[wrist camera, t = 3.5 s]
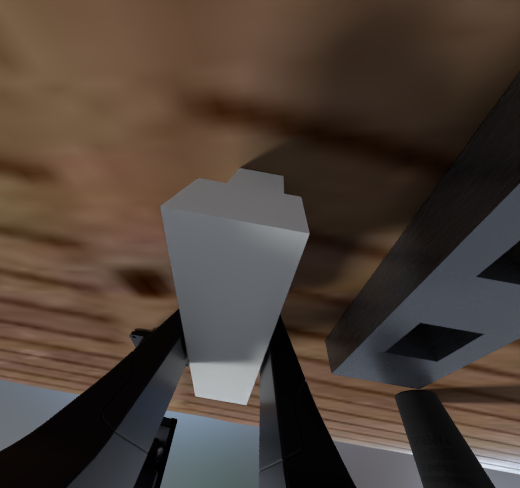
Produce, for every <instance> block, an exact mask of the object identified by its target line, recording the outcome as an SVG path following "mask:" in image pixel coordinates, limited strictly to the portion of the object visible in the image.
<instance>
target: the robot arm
mask: <svg viewBox="0 0 520 488" xmlns="http://www.w3.org/2000/svg"><path fill="white" fill-rule="evenodd" d="M130 338H131V340H132V341H133V343H134V345H135V347H136V348H135V349H134V351H132V352H131V353H130V354H129V355H127V356H126V357H125V358H124V359H123V360H122V361H121V362H120V363H119V364H117V365H116V366H115V367H114V368H113V369H112V370H111V371H109V372H108V373H107V374H106V375H105V376H103V377H102V378H101V379H100V380H98V381H97V382H96V383H95V384H93V385H92V386H91V387H90V388H88V389H87V390H86V391H85V392H83V393H82V394H81V395H80V396H78V397H77V398H76V399H74V400H73V401H72V402H71V403H69V404H68V405H67V406H66V407H64V408H63V409H62V410H60V411H59V412H58V413H57V414H55V415H54V416H53V417H52V418H50V419H49V420H48V421H46V422H45V423H44V424H43V425H41V426H40V427H38V428H37V429H36V430H34V431H33V432H31V433H30V434H29V435H27V436H25V437H24V438H22V439H21V440H19V441H17V442H16V443H14V444H12V445H11V446H9V447H7V448H5V449H3V450H2V451H0V488H160V485H161V481H162V478H163V474H164V470H165V466H166V462H167V459H168V455H169V451H170V447H171V443H172V439H173V435H174V431H175V428H176V424H177V419H175V418H171V419H170V418H166V417H164V414H165V412H166V410H167V407H168V405H169V403H170V400H171V398H172V396H173V393H174V391H175V389H176V386H177V384H178V382H179V379H180V377H181V375H182V372H183V370H184V368H185V366H189V359H188V353H187V348H186V343H185V337H184V332H183V326H182V321H181V316H180V310H179V309H178V310H177V311H176V312H175V313H174V314H173V315H171V316H170V317H169V318H168V319H167V320H166V321H165V322H164V323H163V324H162V325H160V326H159V327H158V328H157V329H156V330H155V331H154V332H153V333H152V334H148V333H142V332H136V331H132V333H131V334H130ZM259 442H260V443H259V471H260V472H259V488H356V486H355V484H354V482H353V480H352V479H351V477H350V475H349V473H348V471H347V469H346V467H345V465H344V463H343V461H342V459H341V457H340V455H339V452H338V450H337V449H336V446H335V445H334V442H333V440H332V438H331V436H330V434H329V432H328V430H327V428H326V426H325V424H324V422H323V420H322V417H321V415H320V413H319V411H318V409H317V407H316V404H315V402H314V399H313V397H312V395H311V392H310V390H309V387H308V385H307V382H306V381H305V377H304V375H303V372H302V369H301V367H300V364H299V362H298V359H297V357H296V354H295V351H294V349H293V346H292V344H291V341H290V339H289V336H288V333H287V331H286V328H285V326H284V323H283V321H282V318H281V316H280V315H279V318H278V321H277V323H276V326H275V329H274V332H273V334H272V337H271V340H270V342H269V345H268V348H267V350H266V353H265V356H264V359H263V361H262V364H261V367H260V437H259Z"/></svg>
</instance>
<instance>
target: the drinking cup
mask: <svg viewBox="0 0 520 488" xmlns="http://www.w3.org/2000/svg"><path fill="white" fill-rule="evenodd" d="M395 400H396V403H397V406H398V409H399V412H400V415H401V418H402V421H403V425H404V428H405V431H406V434H407V437H408V440H409V443H410V447H411V450H412V453H413V456H414V459H415V462H416V465H417V468H418V471H419V475H420V478H421V481H422V484H423V487H424V488H495V486H494V485H493V483H492V482H491V480H490V478H489V477H488V475H487V474H486V472H485V471H484V469H483V467H482V466H481V464H480V463H479V461H478V460H477V458H476V457H475V455H474V453H473V452H472V450H471V449H470V447H469V446H468V444H467V442H466V441H465V439H464V438H463V436H462V435H461V433H460V432H459V430H458V428H457V427H456V425H455V424H454V422H453V421H452V419H451V417H450V416H449V414H448V413H447V411H446V410H445V408H444V406H443V405H442V403H441V402H440V400H439V399H438V397H437V396H436V394H434V393H432V392H429V391H420V390H414V391H406V392H402V393H399V394H397V395H396V396H395Z"/></svg>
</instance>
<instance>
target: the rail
mask: <svg viewBox="0 0 520 488" xmlns="http://www.w3.org/2000/svg"><path fill="white" fill-rule="evenodd" d="M519 338H520V73H519V74H518V76H517V77H516V78H515V80H514V81H513V82H512V84H511V85H510V87H509V88H508V89H507V91H506V92H505V93H504V95H503V96H502V98H501V99H500V100H499V102H498V103H497V105H496V106H495V107H494V109H493V110H492V111H491V113H490V114H489V116H488V117H487V118H486V120H485V121H484V122H483V124H482V125H481V127H480V128H479V129H478V131H477V132H476V133H475V135H474V136H473V138H472V139H471V140H470V142H469V143H468V144H467V146H466V147H465V149H464V150H463V151H462V153H461V154H460V155H459V157H458V158H457V160H456V161H455V162H454V164H453V165H452V166H451V168H450V169H449V171H448V172H447V173H446V175H445V176H444V177H443V179H442V180H441V182H440V183H439V184H438V186H437V187H436V188H435V190H434V191H433V193H432V194H431V195H430V197H429V198H428V199H427V201H426V202H425V204H424V205H423V206H422V208H421V209H420V210H419V212H418V213H417V215H416V216H415V217H414V219H413V220H412V221H411V223H410V224H409V226H408V227H407V228H406V230H405V231H404V232H403V234H402V235H401V237H400V238H399V239H398V241H397V242H396V243H395V245H394V246H393V248H392V249H391V250H390V252H389V253H388V254H387V256H386V257H385V259H384V260H383V261H382V263H381V264H380V265H379V267H378V268H377V270H376V271H375V272H374V274H373V275H372V276H371V278H370V279H369V281H368V282H367V283H366V285H365V286H364V287H363V289H362V290H361V292H360V293H359V294H358V296H357V297H356V298H355V300H354V301H353V303H352V304H351V305H350V307H349V308H348V309H347V311H346V312H345V314H344V315H343V316H342V318H341V319H340V320H339V322H338V323H337V325H336V326H335V327H334V329H333V330H332V331H331V333H330V334H329V336H328V337H327V338H326V340H325V342H326V348H327V353H328V358H329V363H330V368H331V373H332V374H335V375H340V376H346V377H352V378H358V379H363V380H369V381H375V382H381V383H386V384H392V385H398V386H404V387H410V388H415V389H420V388H422V387H424V386H426V385H428V384H430V383H432V382H434V381H436V380H438V379H440V378H442V377H444V376H446V375H448V374H450V373H452V372H454V371H456V370H458V369H460V368H462V367H464V366H466V365H468V364H470V363H472V362H474V361H476V360H478V359H480V358H482V357H484V356H485V355H487V354H489V353H491V352H493V351H495V350H497V349H499V348H501V347H503V346H505V345H507V344H509V343H511V342H513V341H515V340H517V339H519Z"/></svg>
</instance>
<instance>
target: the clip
mask: <svg viewBox="0 0 520 488" xmlns="http://www.w3.org/2000/svg"><path fill="white" fill-rule="evenodd" d="M160 208H161V214H162V219H163V224H164V230H165V235H166V240H167V246H168V251H169V257H170V262H171V267H172V273H173V278H174V283H175V289H176V294H177V300H178V305H179V310H180V316H181V321H182V326H183V332H184V337H185V343H186V348H187V353H188V359H189V364H190V369H191V375H192V380H193V386H194V391H195V396H197V397H203V398H209V399H214V400H220V401H226V402H231V403H237V404H243V405H247V402H248V399H249V396H250V394H251V391H252V388H253V386H254V383H255V380H256V378H257V375H258V372H259V369H260V367H261V364H262V361H263V359H264V356H265V353H266V350H267V348H268V345H269V342H270V340H271V337H272V334H273V332H274V329H275V326H276V323H277V321H278V318H279V315H280V313H281V310H282V307H283V304H284V302H285V299H286V296H287V294H288V291H289V288H290V286H291V283H292V280H293V277H294V275H295V272H296V269H297V267H298V264H299V261H300V259H301V256H302V253H303V250H304V248H305V245H306V242H307V240H308V237H309V234H310V233H309V228H308V224H307V220H306V215H305V211H304V207H303V202H302V198H301V197H299V196H294V195H288V194H284V176H281V175H275V174H270V173H264V172H259V171H254V170H248V169H243V168H239V169H238V170H237V172H236V173H235V174H234V175H233V177H232V178H231V179H230V180H229V182H228V183H223V182H217V181H212V180H207V179H201V178H198V179H196V180H195V181H193V182H192V183H191V184H189V185H188V186H187V187H185V188H184V189H183V190H181V191H180V192H179V193H177V194H176V195H175V196H173V197H172V198H171V199H169V200H168V201H167V202H165V203H164V204H163V205H161V206H160Z"/></svg>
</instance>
